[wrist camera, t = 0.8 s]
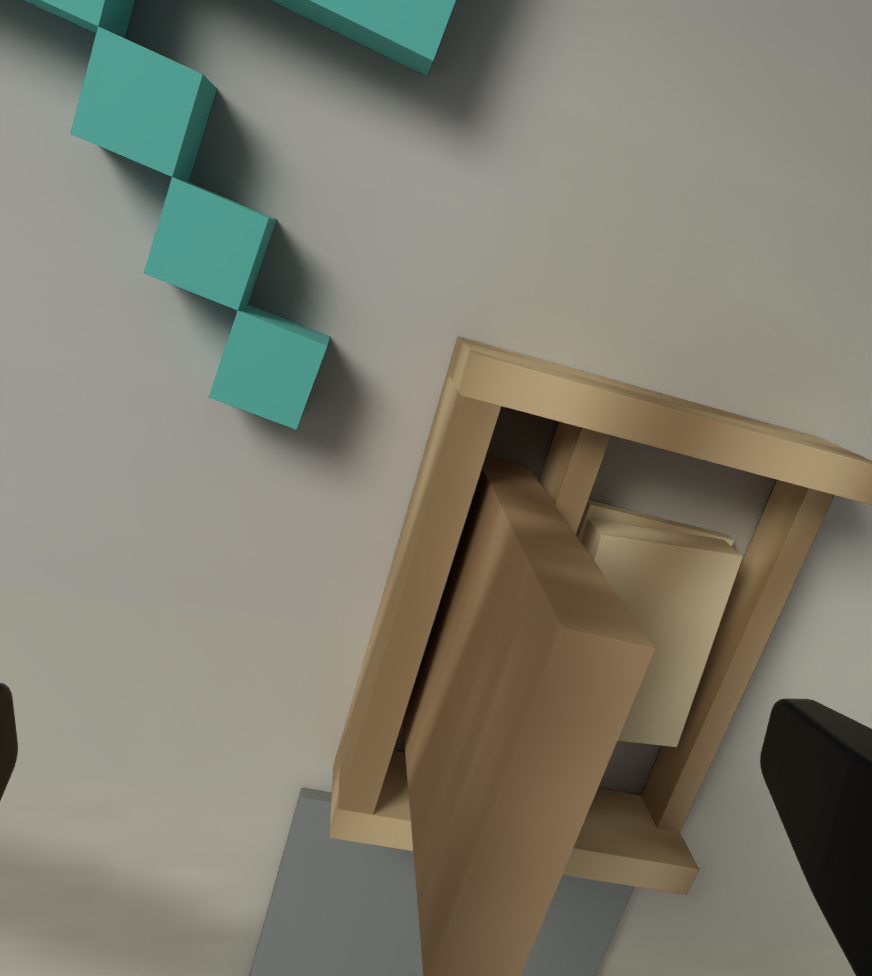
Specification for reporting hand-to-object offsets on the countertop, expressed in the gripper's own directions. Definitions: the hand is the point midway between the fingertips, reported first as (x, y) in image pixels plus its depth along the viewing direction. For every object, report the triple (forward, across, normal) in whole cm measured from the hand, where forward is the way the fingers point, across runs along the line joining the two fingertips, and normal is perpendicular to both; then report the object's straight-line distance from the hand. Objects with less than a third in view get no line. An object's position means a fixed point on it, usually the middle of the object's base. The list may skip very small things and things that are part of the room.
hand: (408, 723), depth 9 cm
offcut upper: (+12, -8, +5) cm, 15 cm away
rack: (+13, -5, +5) cm, 15 cm away
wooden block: (+13, -2, +4) cm, 14 cm away
